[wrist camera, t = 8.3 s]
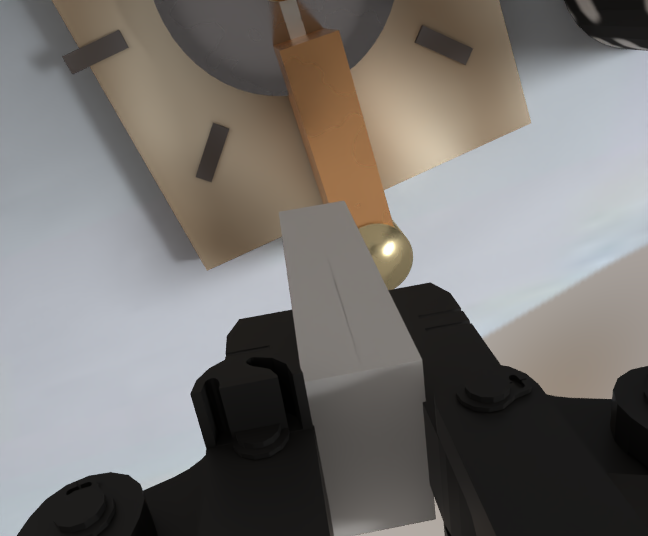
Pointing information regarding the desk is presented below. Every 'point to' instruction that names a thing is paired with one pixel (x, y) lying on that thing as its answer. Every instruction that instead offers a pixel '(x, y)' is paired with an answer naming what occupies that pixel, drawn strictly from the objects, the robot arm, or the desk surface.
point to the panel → (277, 115)
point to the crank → (305, 91)
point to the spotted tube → (613, 21)
